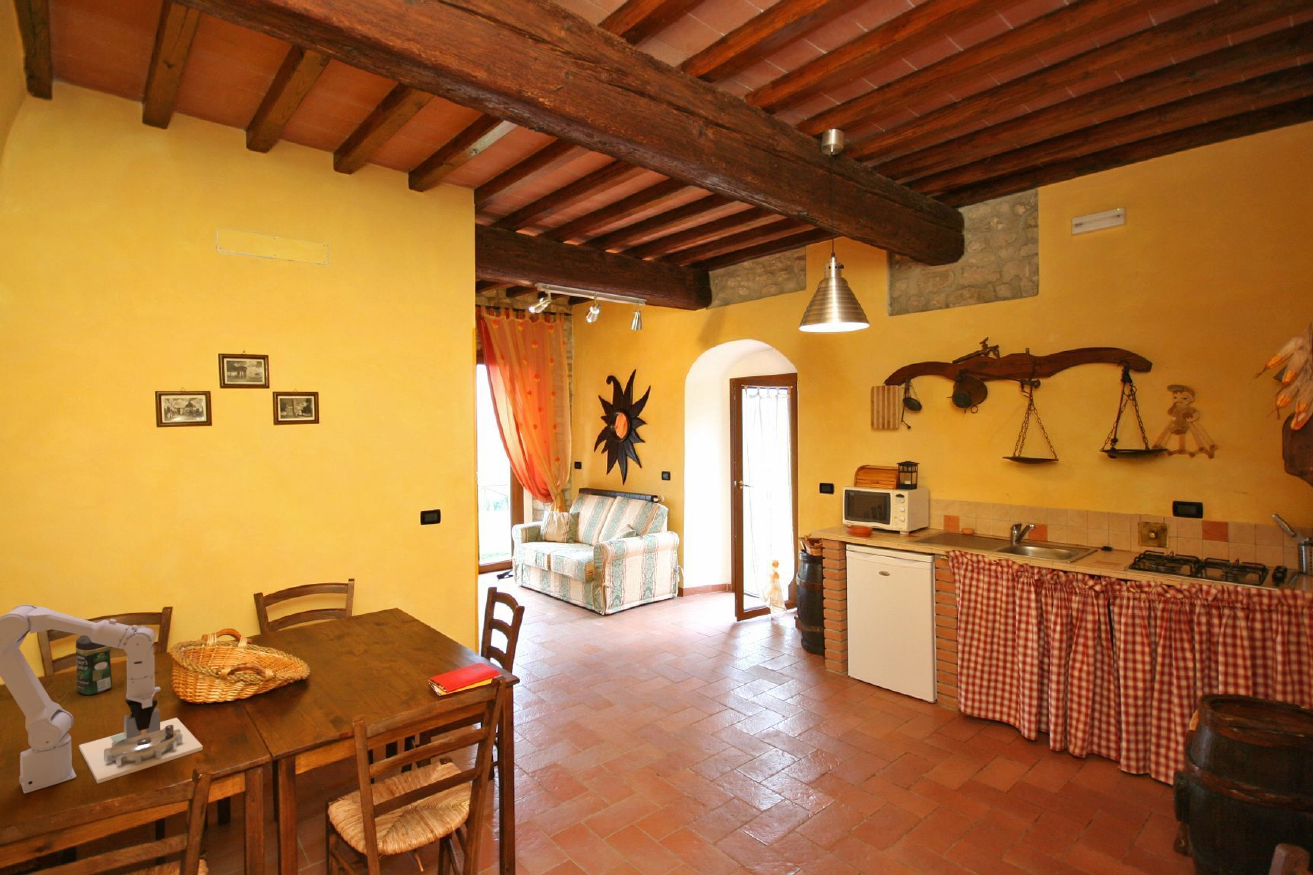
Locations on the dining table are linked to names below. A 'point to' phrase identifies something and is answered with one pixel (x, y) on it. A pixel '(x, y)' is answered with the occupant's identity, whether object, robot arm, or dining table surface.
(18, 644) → the robot arm
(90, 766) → the sprocket base
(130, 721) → the link block
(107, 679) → the coffee jar
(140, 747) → the sprocket
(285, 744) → the dining table surface
